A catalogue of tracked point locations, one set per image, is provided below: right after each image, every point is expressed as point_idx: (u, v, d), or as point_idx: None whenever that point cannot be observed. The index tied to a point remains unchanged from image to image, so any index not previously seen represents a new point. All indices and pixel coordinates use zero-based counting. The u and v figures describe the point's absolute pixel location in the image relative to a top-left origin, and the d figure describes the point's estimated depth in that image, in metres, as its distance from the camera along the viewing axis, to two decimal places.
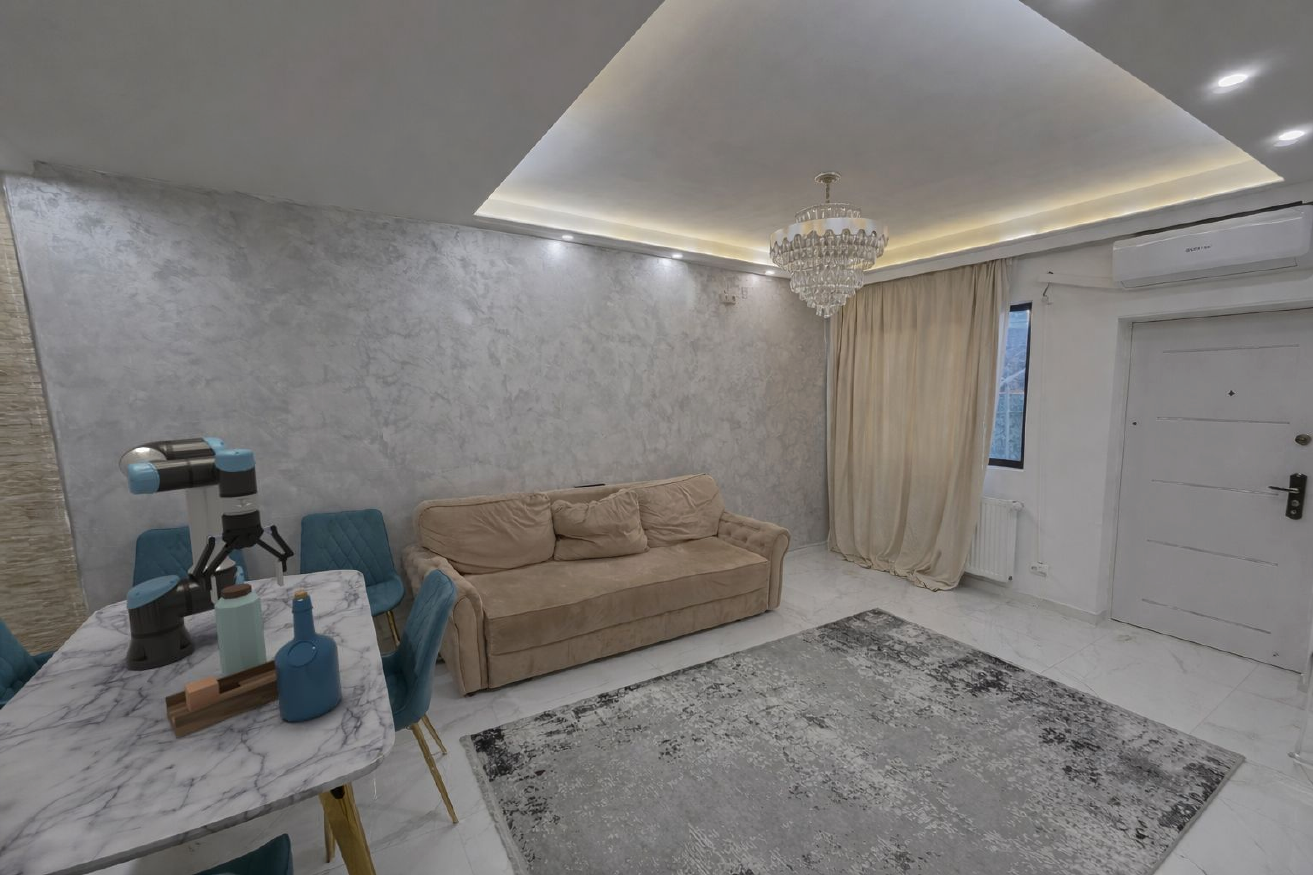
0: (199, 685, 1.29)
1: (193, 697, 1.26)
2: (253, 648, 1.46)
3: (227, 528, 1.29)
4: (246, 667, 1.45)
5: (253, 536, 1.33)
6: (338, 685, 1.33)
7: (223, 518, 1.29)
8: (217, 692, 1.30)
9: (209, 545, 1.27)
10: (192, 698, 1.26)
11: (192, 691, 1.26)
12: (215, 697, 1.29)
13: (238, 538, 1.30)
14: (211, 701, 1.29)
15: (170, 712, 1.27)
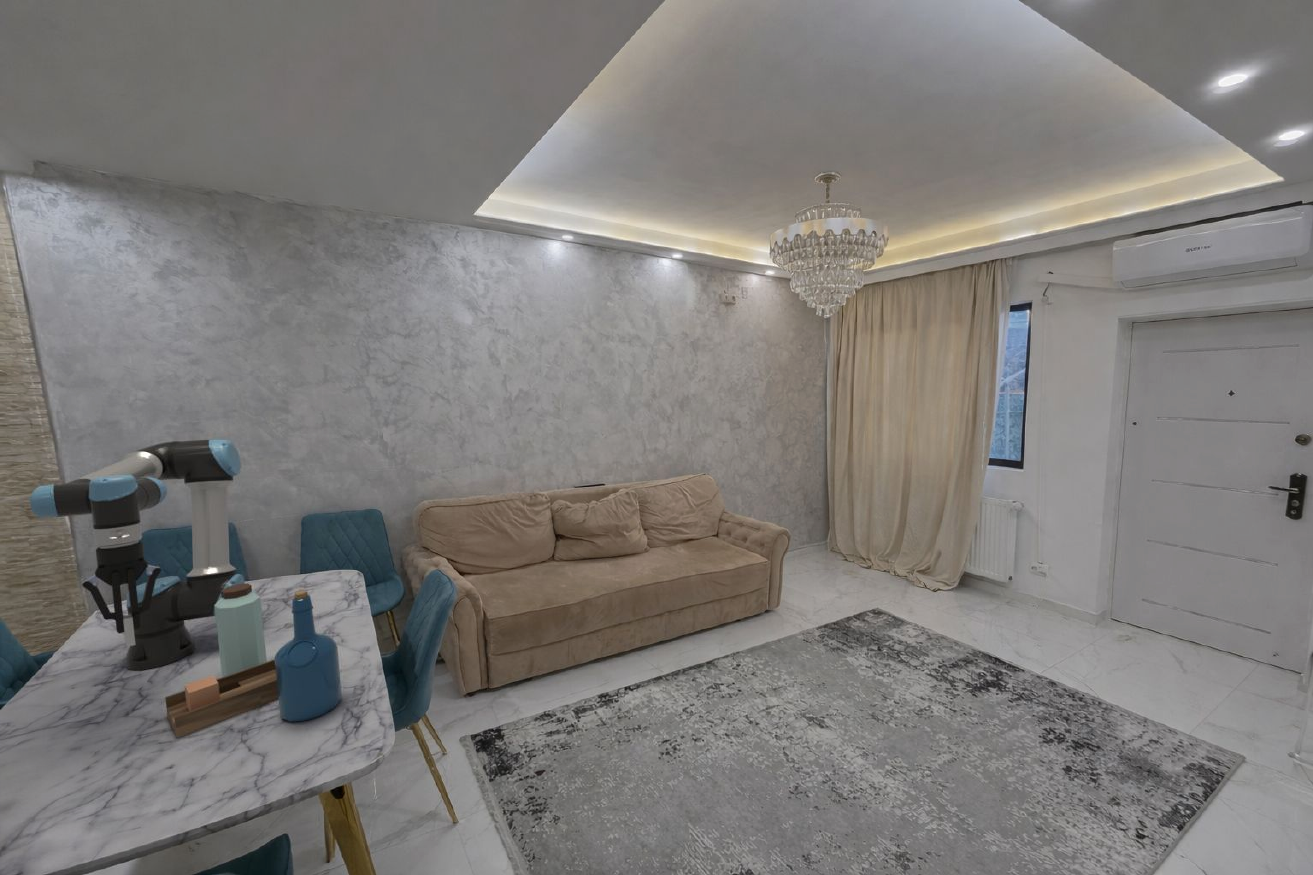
0: (199, 685, 1.29)
1: (193, 697, 1.26)
2: (254, 648, 1.46)
3: (100, 563, 1.17)
4: (246, 667, 1.45)
5: (133, 571, 1.20)
6: (338, 685, 1.33)
7: (96, 552, 1.17)
8: (217, 692, 1.30)
9: (90, 590, 1.16)
10: (192, 698, 1.26)
11: (192, 691, 1.26)
12: (215, 697, 1.29)
13: (114, 574, 1.18)
14: (211, 701, 1.29)
15: (170, 712, 1.27)
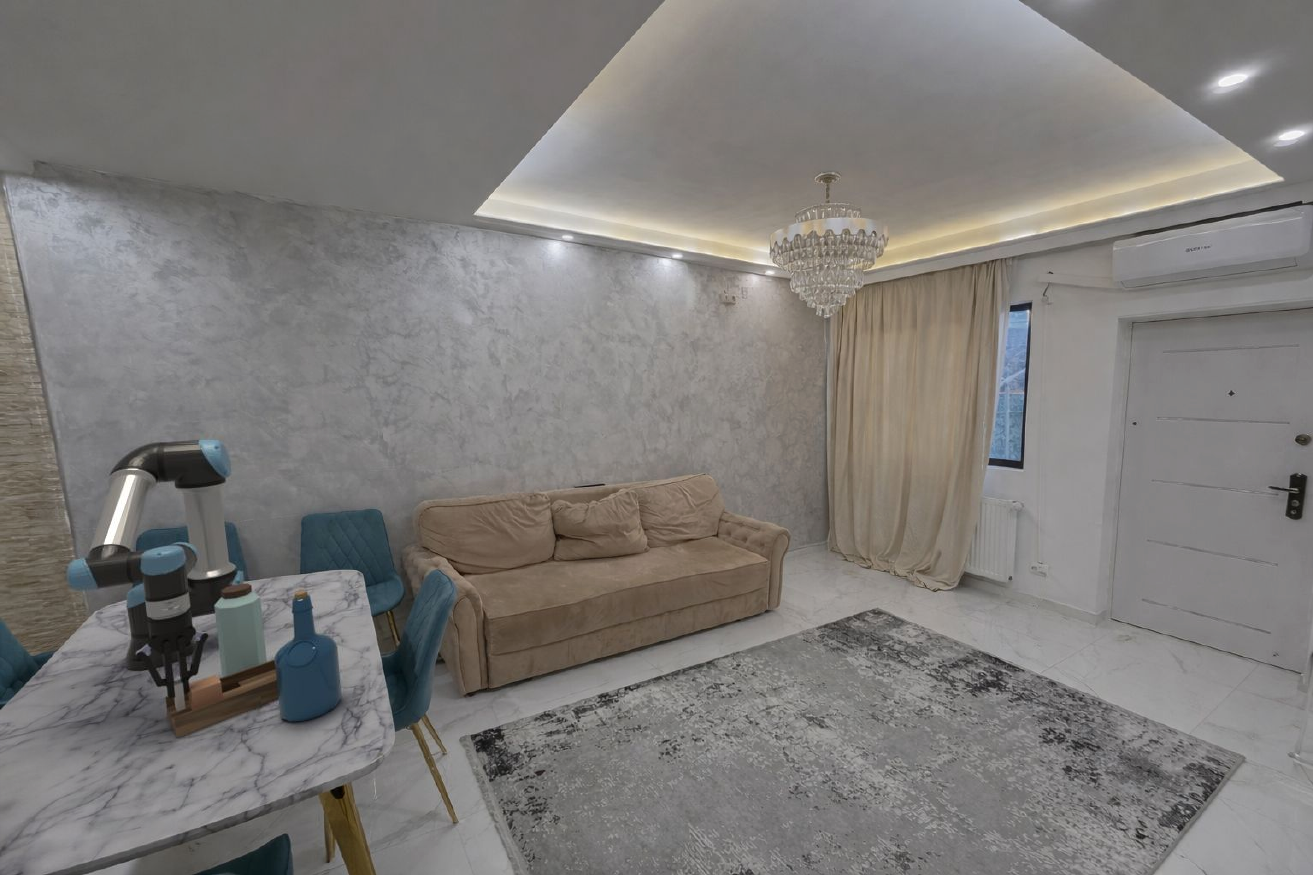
0: (202, 684, 1.29)
1: (196, 696, 1.26)
2: (254, 648, 1.46)
3: (153, 633, 1.21)
4: (246, 667, 1.45)
5: (183, 639, 1.25)
6: (338, 685, 1.33)
7: (149, 623, 1.21)
8: (220, 691, 1.30)
9: (143, 660, 1.20)
10: (194, 697, 1.26)
11: (195, 690, 1.27)
12: (218, 696, 1.30)
13: (165, 643, 1.22)
14: (214, 700, 1.29)
15: (170, 712, 1.27)
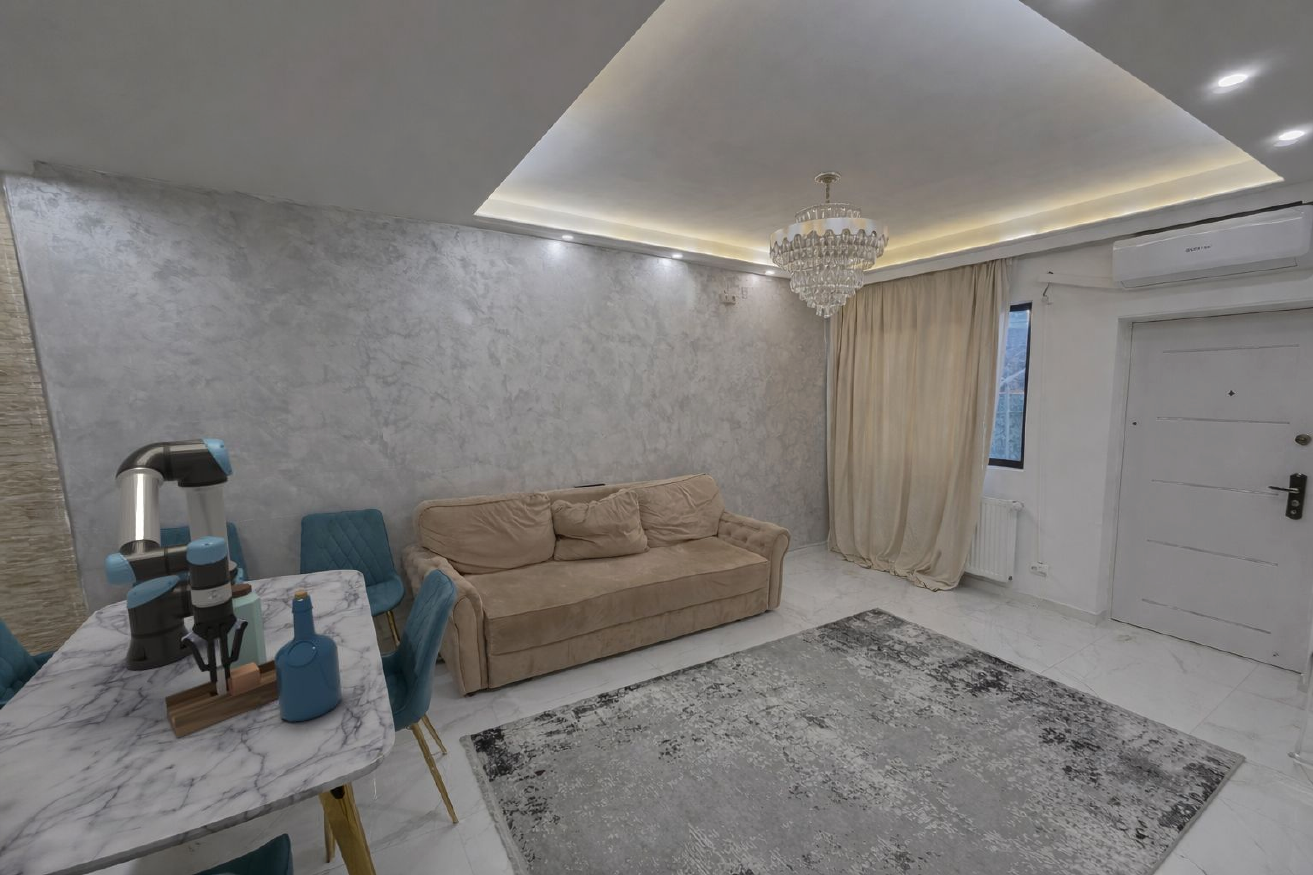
0: (241, 671, 1.35)
1: (236, 682, 1.32)
2: (254, 648, 1.46)
3: (198, 621, 1.27)
4: None
5: (225, 626, 1.31)
6: (338, 685, 1.33)
7: (194, 610, 1.27)
8: (258, 678, 1.36)
9: (189, 646, 1.26)
10: (235, 683, 1.32)
11: (236, 676, 1.32)
12: (256, 682, 1.35)
13: (209, 630, 1.28)
14: (252, 686, 1.35)
15: (170, 712, 1.27)
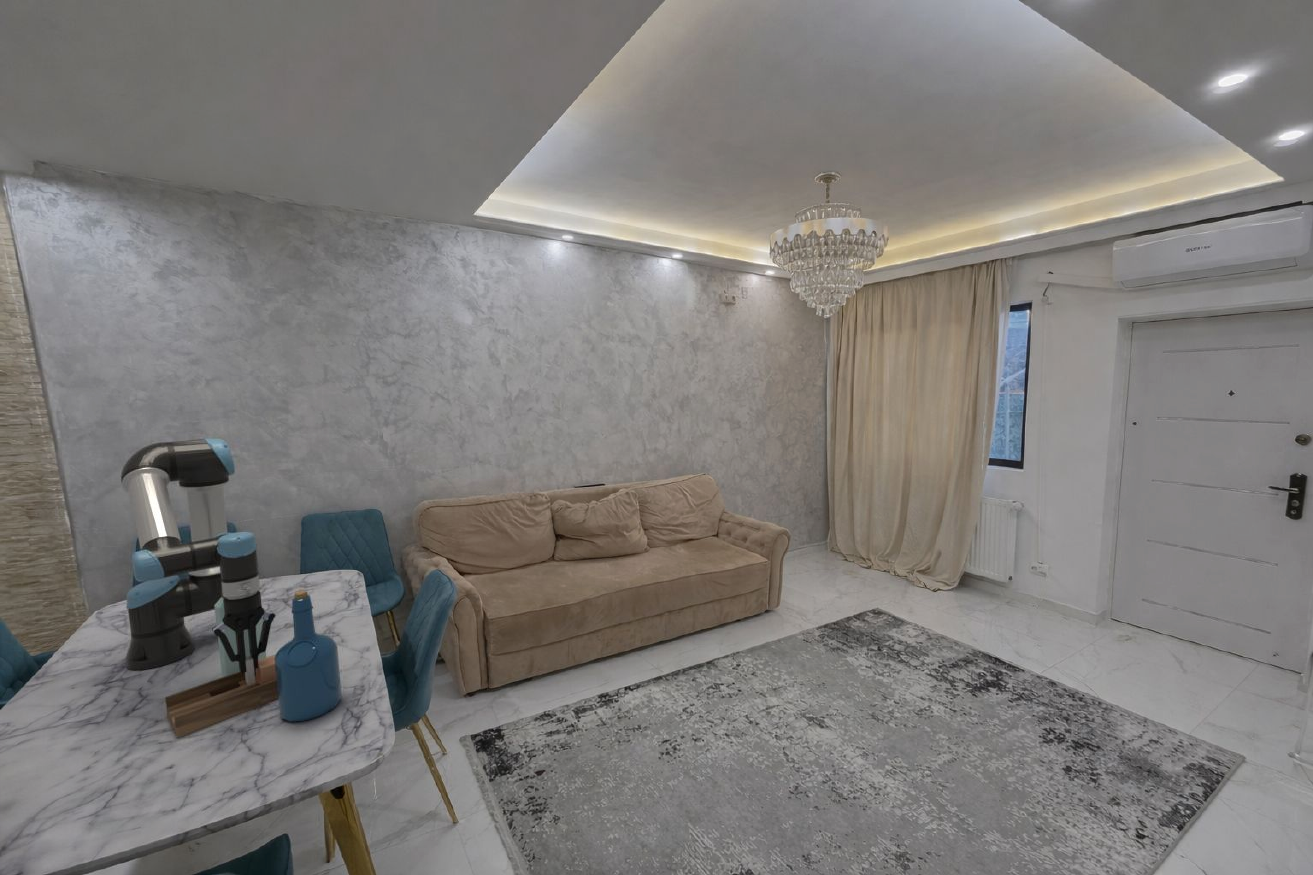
0: (269, 661, 1.39)
1: (264, 672, 1.37)
2: None
3: (228, 612, 1.31)
4: None
5: (254, 618, 1.35)
6: (338, 685, 1.33)
7: (225, 602, 1.31)
8: None
9: (220, 636, 1.30)
10: (263, 673, 1.36)
11: (264, 666, 1.37)
12: None
13: (239, 622, 1.33)
14: None
15: (170, 712, 1.27)
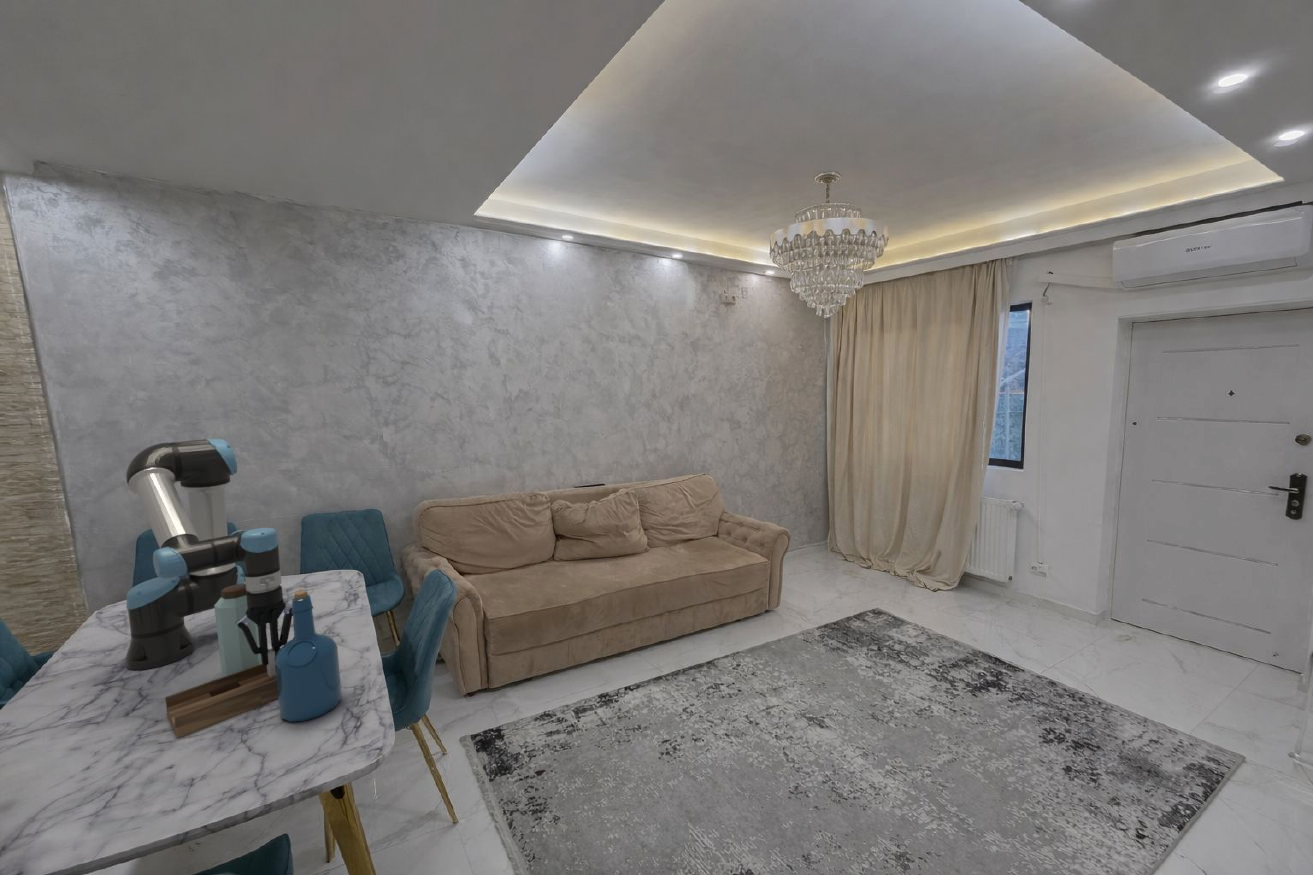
0: None
1: None
2: None
3: (252, 606, 1.35)
4: (246, 667, 1.45)
5: (276, 611, 1.39)
6: (338, 685, 1.33)
7: (248, 596, 1.35)
8: None
9: (243, 629, 1.34)
10: None
11: None
12: None
13: (261, 615, 1.36)
14: None
15: (170, 712, 1.27)
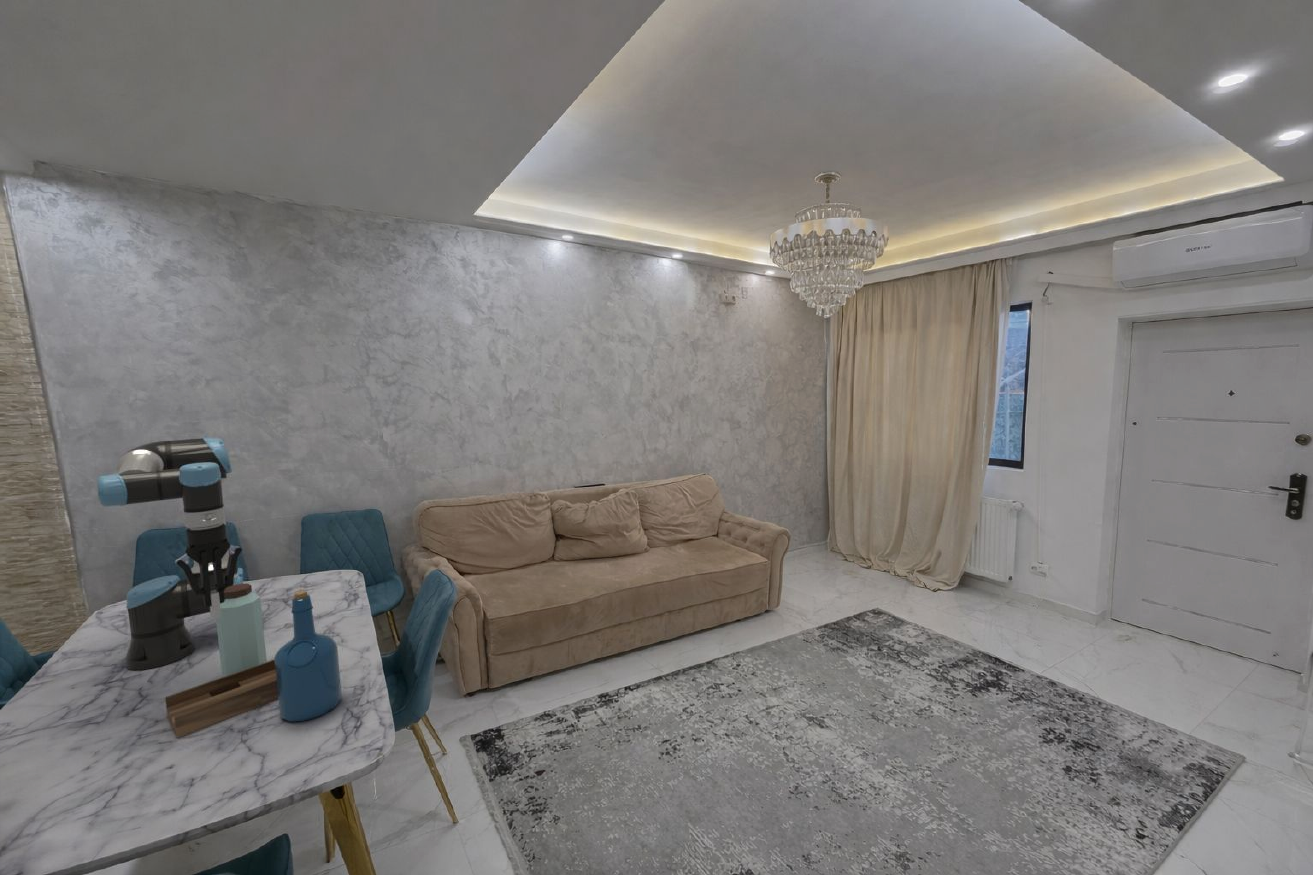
0: None
1: None
2: (253, 648, 1.46)
3: (192, 543, 1.27)
4: (246, 667, 1.45)
5: (219, 551, 1.31)
6: (338, 685, 1.33)
7: (188, 533, 1.27)
8: None
9: (183, 568, 1.27)
10: None
11: None
12: None
13: (203, 553, 1.29)
14: None
15: (170, 712, 1.27)
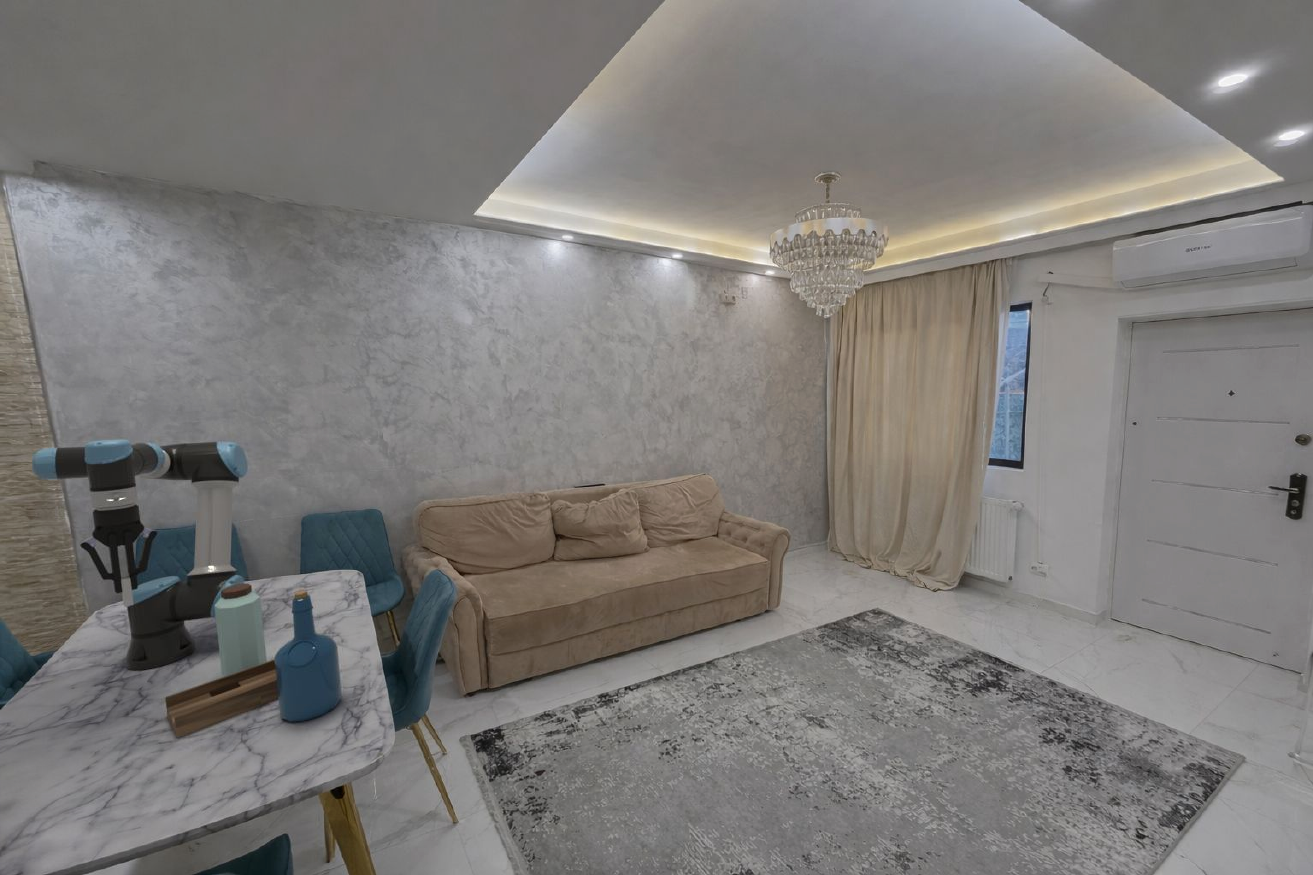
0: None
1: None
2: (253, 648, 1.46)
3: (98, 524, 1.19)
4: (246, 667, 1.45)
5: (130, 533, 1.23)
6: (338, 685, 1.33)
7: (93, 514, 1.19)
8: None
9: (88, 550, 1.19)
10: None
11: None
12: None
13: (111, 536, 1.21)
14: None
15: (170, 712, 1.27)
